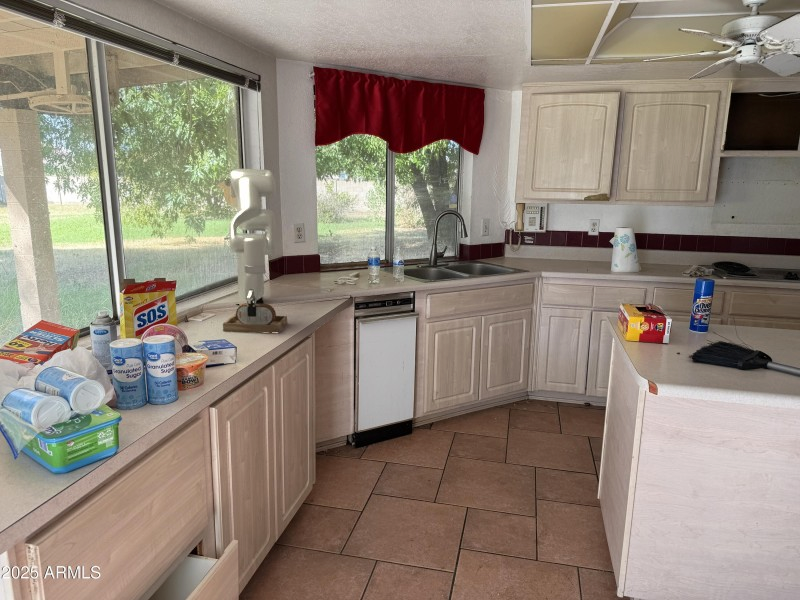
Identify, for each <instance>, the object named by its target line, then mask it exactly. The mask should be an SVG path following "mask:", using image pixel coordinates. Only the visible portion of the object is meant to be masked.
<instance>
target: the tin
mask: <svg viewBox="0 0 800 600" xmlns="http://www.w3.org/2000/svg"><path fill="white" fill-rule="evenodd" d="M255 306H256V317H249V316H248V312H247V303H243V304H241V305H238V308H236V310H235V314H236V317H237V319H238V321H239V322H241V323H242V324H255V325H269V324H271V323H272V322H273V321H274V320H275V318H276V316H277V313H276V310H275V308H274V307H273V306H272V305H271V304H268V303H264V304H259V303H256V304H255Z"/></svg>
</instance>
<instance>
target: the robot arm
mask: <svg viewBox="0 0 800 600" xmlns="http://www.w3.org/2000/svg"><path fill="white" fill-rule="evenodd" d="M229 179H230V183H231V186H232V189H233V191H234V194H235V196H236V208H237V209H236V210H237V211H236V213H235V215H234V216H233V217H232V219H231V221H230V223H229V227H228V230H229V231H228V233H229V234H228V235H229V247H230V250H231V252H232V253H235V254H236V258H237V259H236V261H237V262H236V263H237V288H238V289H237V291H238V292H237V293H238V295H237V296H238V298H237V299H239V300H243V301H247V312H248V316H249V317H256V306H255V304H256V303H259V304H265V301H264V298H265V297H264V295H265V279H264V275H265V274H266V256H269V255H273V254H274V253H275V252H276V246H277V245H276V243H277V242H276V241H277V240H276V239H277V238H276V216H275V214H274V211H273V210H271V209H267V208H263V207H262V198H263V197H264V198H265V197H266V198H272V197H275V194H276V193H277V186H276V185H277V184H276V179H275V177H274V174H273V173H272V171H271V170H269V169H258V168H256V169H253V168H235V169H233V170H232V171H230V174H229ZM238 227H239V229H240V230H242V231H249V232H250V233H249V232H248V233H241V232H240V233H238V232H237V231H238V230H237V229H238ZM251 231H252V232H253V231H256V232H257V231H258V232H260V231H261V232H262V231H263V232H264V233H251ZM253 301H254V303H253Z"/></svg>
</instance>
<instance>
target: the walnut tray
mask: <svg viewBox="0 0 800 600" xmlns="http://www.w3.org/2000/svg"><path fill="white" fill-rule="evenodd" d="M287 324H288V316H287V315H276V318H275V320H274V321H273V322H272V323H271V324H269V325H255V324H242V323H241V322H239V321H238V319H237V317H236V313H235V314H233V315H232V316H231V317H229V318H228V319H227V320H226V321H224V322H223V323H222V332H228V333H229V332H231V331H232V332H233V333H249V332H269V333H272V332H279V331H280V330H281V329H282V328H283V329H284V328H285V326H286V325H287ZM283 329H282V330H283ZM282 330H281V331H282ZM281 331H280V332H281ZM232 332H231V333H232ZM280 332H279V333H280ZM269 333H268V334H269Z"/></svg>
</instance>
